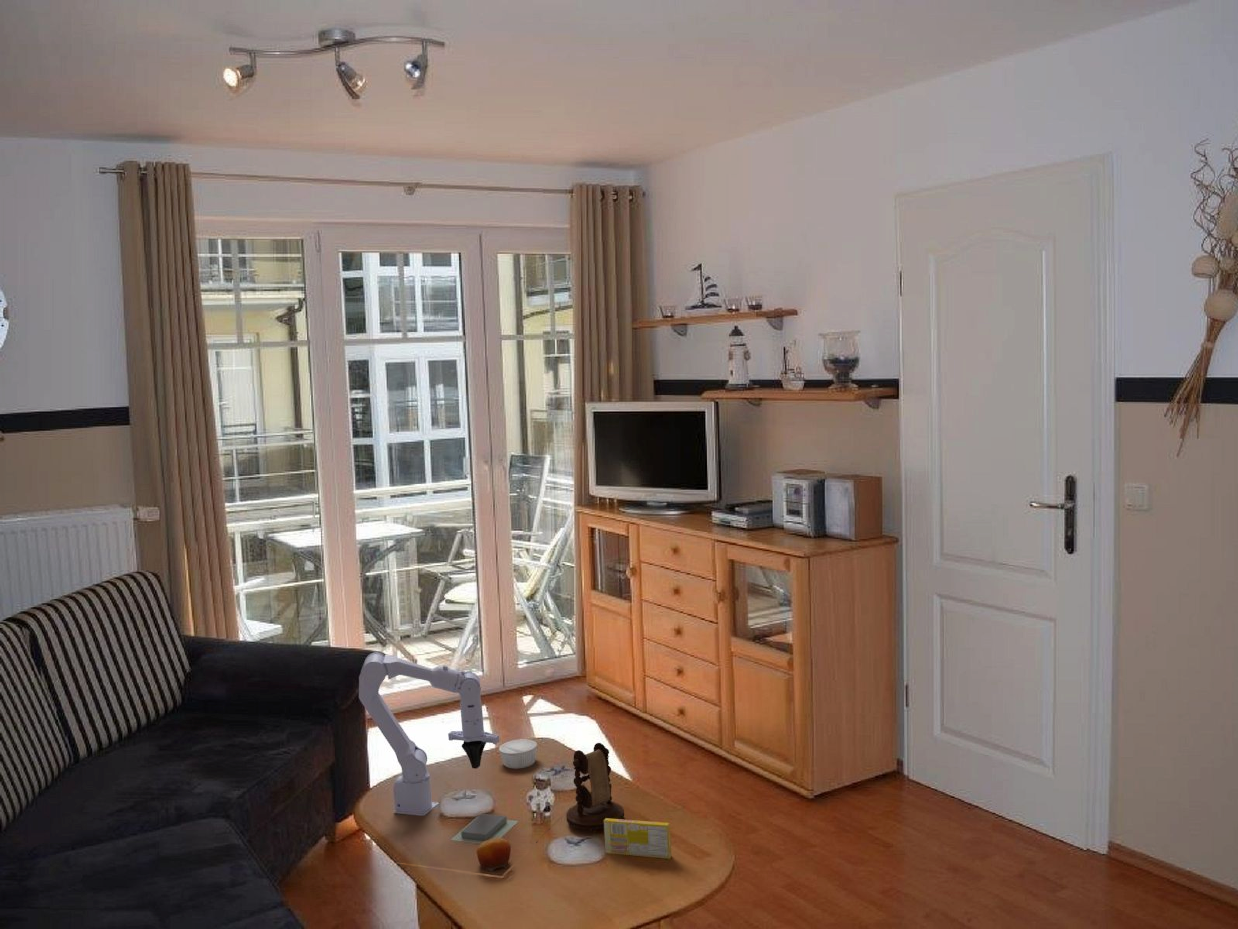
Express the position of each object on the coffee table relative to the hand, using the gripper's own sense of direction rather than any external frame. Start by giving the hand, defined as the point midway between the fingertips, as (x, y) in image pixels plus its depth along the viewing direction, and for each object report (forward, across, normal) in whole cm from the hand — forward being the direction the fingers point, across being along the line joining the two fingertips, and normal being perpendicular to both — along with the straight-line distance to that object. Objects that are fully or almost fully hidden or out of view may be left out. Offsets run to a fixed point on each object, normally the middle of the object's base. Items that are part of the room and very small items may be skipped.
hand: (476, 767), depth 306 cm
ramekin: (+10, -2, +28) cm, 30 cm away
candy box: (+10, +53, -18) cm, 57 cm away
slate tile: (+8, +7, -16) cm, 19 cm away
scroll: (+10, +36, -4) cm, 38 cm away
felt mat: (+10, +10, -16) cm, 22 cm away
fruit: (+10, +22, -32) cm, 40 cm away
